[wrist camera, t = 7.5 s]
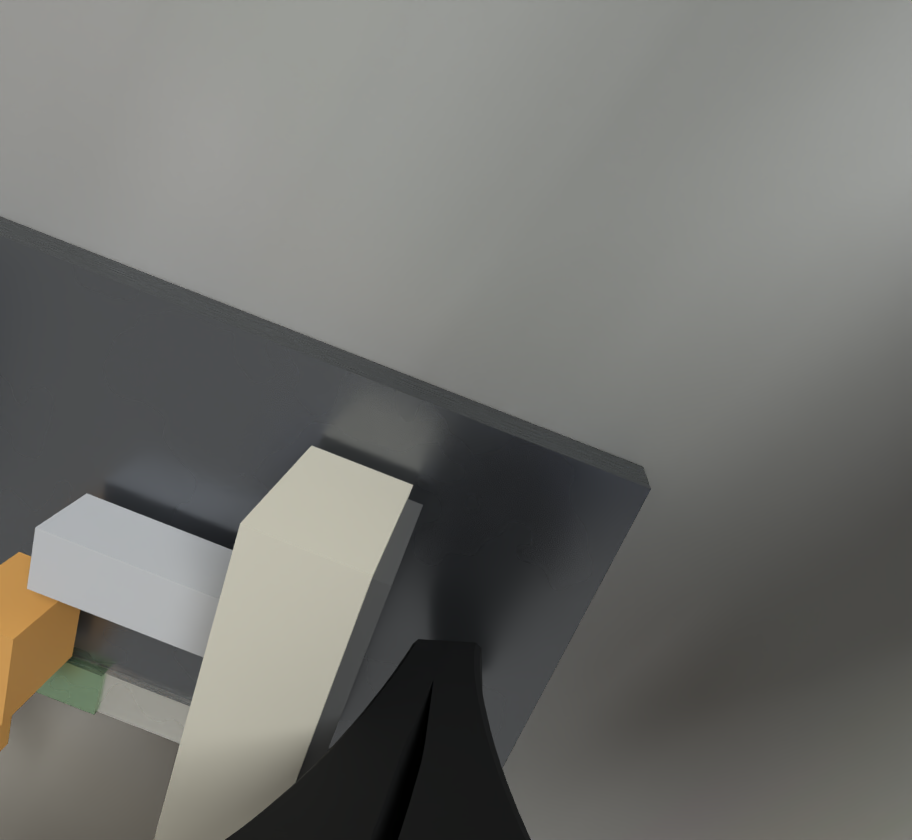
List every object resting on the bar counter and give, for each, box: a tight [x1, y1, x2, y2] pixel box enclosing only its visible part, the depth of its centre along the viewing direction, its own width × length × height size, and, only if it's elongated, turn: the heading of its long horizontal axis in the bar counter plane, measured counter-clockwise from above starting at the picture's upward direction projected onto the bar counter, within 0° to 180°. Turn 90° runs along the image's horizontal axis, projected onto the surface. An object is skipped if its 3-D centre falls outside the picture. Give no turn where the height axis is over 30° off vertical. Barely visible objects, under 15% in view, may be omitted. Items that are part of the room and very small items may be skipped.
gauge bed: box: [0, 217, 651, 768], centre depth 12 cm, size 18×10×5 cm, turn 70°
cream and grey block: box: [27, 446, 423, 840], centre depth 12 cm, size 6×7×3 cm
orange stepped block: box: [0, 552, 80, 751], centre depth 14 cm, size 2×4×2 cm, turn 160°
